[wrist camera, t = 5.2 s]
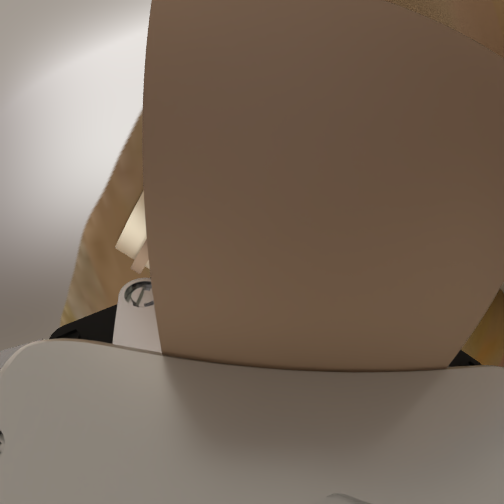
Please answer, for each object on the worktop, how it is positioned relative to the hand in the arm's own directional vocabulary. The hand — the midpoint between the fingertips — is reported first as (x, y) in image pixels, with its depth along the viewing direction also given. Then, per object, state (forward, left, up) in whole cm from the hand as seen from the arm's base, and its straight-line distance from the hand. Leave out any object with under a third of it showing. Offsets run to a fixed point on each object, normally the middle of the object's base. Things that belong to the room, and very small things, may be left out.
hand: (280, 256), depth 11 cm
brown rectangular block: (0, 0, -2) cm, 2 cm away
